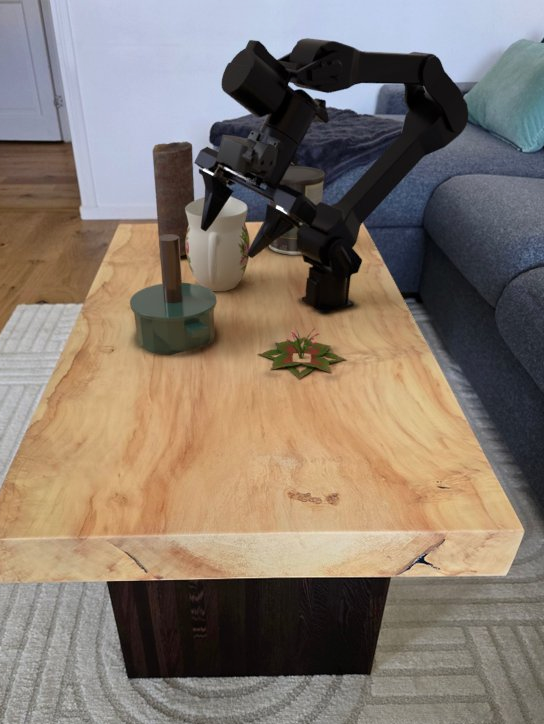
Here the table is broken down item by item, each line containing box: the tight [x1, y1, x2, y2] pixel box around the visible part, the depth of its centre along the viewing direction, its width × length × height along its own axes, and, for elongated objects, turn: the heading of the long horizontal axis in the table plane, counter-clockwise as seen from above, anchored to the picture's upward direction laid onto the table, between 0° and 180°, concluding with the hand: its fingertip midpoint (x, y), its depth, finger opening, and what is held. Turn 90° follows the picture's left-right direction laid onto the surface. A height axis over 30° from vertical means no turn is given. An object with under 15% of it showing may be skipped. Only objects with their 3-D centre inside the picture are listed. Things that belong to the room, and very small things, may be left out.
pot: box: [133, 308, 215, 356], centre depth 94 cm, size 12×17×6 cm
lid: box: [129, 234, 218, 322], centre depth 90 cm, size 13×13×10 cm
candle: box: [152, 141, 195, 257], centre depth 119 cm, size 8×7×20 cm
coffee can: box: [268, 165, 326, 256], centre depth 124 cm, size 10×10×14 cm
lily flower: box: [257, 327, 347, 380], centre depth 88 cm, size 12×12×5 cm
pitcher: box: [185, 195, 251, 292], centre depth 108 cm, size 11×18×14 cm, turn 177°
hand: (225, 243), depth 90 cm, fingers open, 9 cm apart
